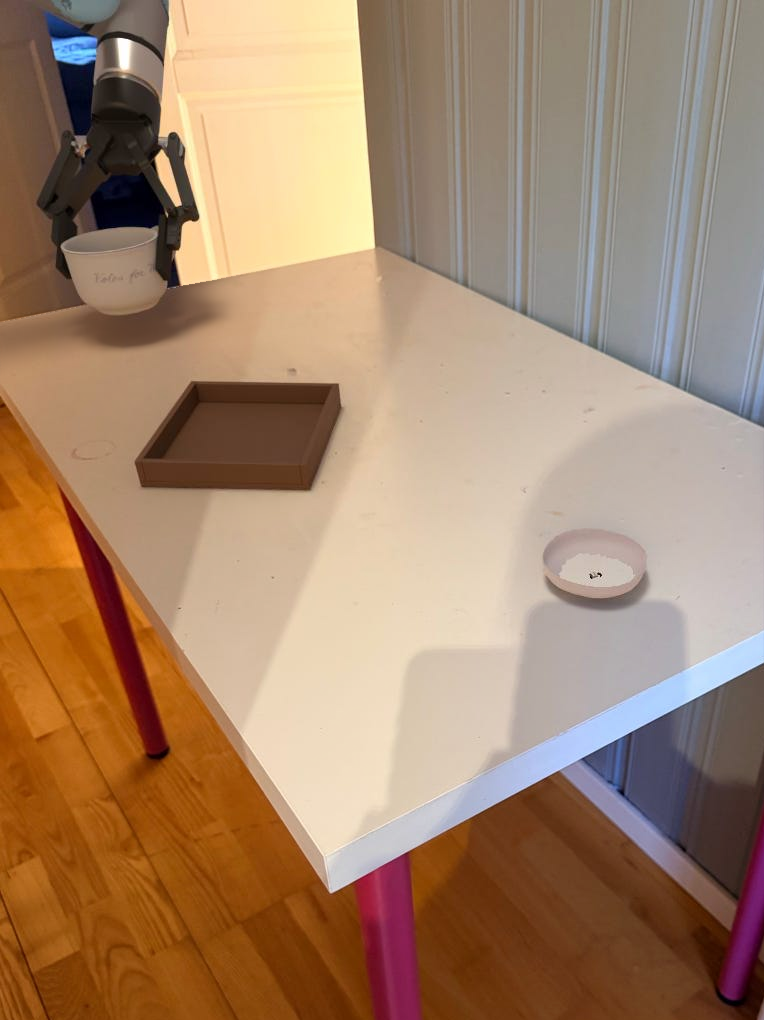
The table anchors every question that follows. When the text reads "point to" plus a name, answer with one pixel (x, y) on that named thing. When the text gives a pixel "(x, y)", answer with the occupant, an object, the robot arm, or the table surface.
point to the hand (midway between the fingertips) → (113, 274)
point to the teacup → (116, 269)
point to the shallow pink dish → (593, 544)
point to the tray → (242, 436)
